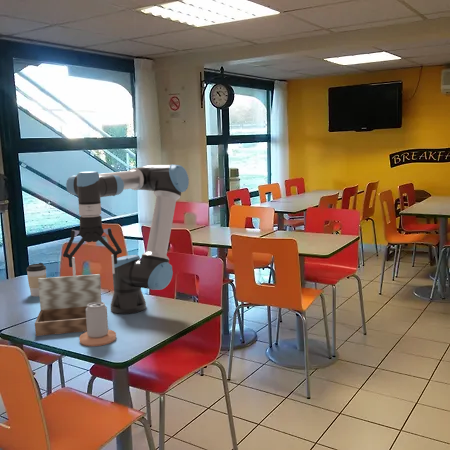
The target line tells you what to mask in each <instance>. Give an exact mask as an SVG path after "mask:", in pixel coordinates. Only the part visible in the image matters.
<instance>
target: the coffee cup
mask: <svg viewBox="0 0 450 450" xmlns="http://www.w3.org/2000/svg"><path fill="white" fill-rule="evenodd" d="M25 271H26V272H27V281H28V288H29V290H30V291H29V292H30V297H40V296H39V283H38V278H47V266H45V264H44V263H43V262H40V263H31V264H29V265H28V267H26V270H25Z"/></svg>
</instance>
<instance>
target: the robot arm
mask: <svg viewBox="0 0 450 450" xmlns="http://www.w3.org/2000/svg"><path fill="white" fill-rule="evenodd" d="M189 180H190V179H189V175H188V172H187V170H186V168H185V167H183V165H180V164H174V163H173V164H150V165H144V166H139V167H133V168H130V169H129V170H126V171H125V170H124V171H115V172H114V171H113V172H104V173H103V172H102V173H99V172H98V171H80V172H78V173H77V174H76V175H71V176H69V177H68V178H67V180H66V183H65V185H66V186H65V187H66V191H67V192H68V193H69V194H70V195H72V196H76V197H77V199H78V201H77V202H78V215H79V230H75V229H71V230H70V231H71V232H70V238H69V240H68V242H67V244H66V245H67V246H66V247H65V249H64V251H63V254H62V257H64V258H67V259H68V267H69V268H72V276H73V277H75V276H77V274H76V273H77V271H76V269H77V268H76V259H75V257H74V255H75V254H76V253H77V252H78V251H79V249H81V246H82V245H83V244H84V243H85V242H86V243H92V242H93V243H96V242H100V243H101V244H102V245H103V246H104V247H105V248H106V249H107V250H108V251H109V252H110V253H111V267H112V268H111V270H112V271H111V272H112V273H111V274H112V286H113V295H112V298H111V301H110V311H111V312H112V313H115V314H123V315H125V314H127V315H128V314H133V313H138V312H142V311H144V310H145V309H147V302H146V300H145V297H144V294H143V292H142V289H148V290H153V291H155V290H157V291H158V290H159V291H161V290H164V289H165V288H166V287H168V285H169V284H170V283H171V281H172V279H173V275H174V274H173V273H174V272H173V271H174V270H173V265H172V264H170V258H169V256H167V254H168V248H169V244H170V243H169V242H170V238H171V233H172V232H171V231H172V226H173V221H174V216H175V209H176V203H177V201H178V200H179V199H181V196H182V193H184V192H186V191H187V190H188V188H189V184H190V183H189V182H190V181H189ZM130 189H131V190H132V191H149V192H150V191H151V192H153V194H154V195H155V197H156V198H155V203H154V209H153V214H152V219H151V226H150V229H149V230H150V231H149V236H148V241H147V247H146V251H145V252H144V253H142V254H141V257H140V255H138V254H131V255H123V256H120V257H118V255H120V254H122V252H123V251H122V248H121V247H120V245H119V243H118V242H117V239H116V238H115V237H114V235H113V233H112V228H111V227H108V228H103V222H102V219H103V218H102V216H101V215H102V206H101V205H102V204H101V198H105V197H112V196H113V197H115V196H118V195H119V196H120V195H121V194H122V193H123V192H124V190H130ZM104 233H105V235H107V236H108V237H109V239H110V240H111V242H112V244H113V246H114V247H112V246H111V245H110V243H109V242H108V241H107V240H106V239H105V238H104V237H103V234H104ZM78 235H79V236H80V237H81V239H80V240H79V242H78V243H77V244H76V245H75V246H74V248H73V249H72V251H70V249H71V247H72V244H73V242H74V239H75V237H77V236H78ZM69 251H70V252H69Z"/></svg>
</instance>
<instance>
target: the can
mask: <svg viewBox="0 0 450 450" xmlns="http://www.w3.org/2000/svg"><path fill="white" fill-rule="evenodd" d="M105 304H106V303H105V302H103V301H101V302H92V303H89V304H88V305H87V306H88V307H87V308H86V324H87V331H86V332H87V335H88V336H89V337H90V338H102V337H104V336H106V334H107V333H108V330H109V326H108V324H109V323H108V307H107V306H106V305H105Z"/></svg>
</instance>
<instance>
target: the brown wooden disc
mask: <svg viewBox="0 0 450 450" xmlns="http://www.w3.org/2000/svg"><path fill="white" fill-rule="evenodd" d="M78 340H79V344H80V345H82V346H86V347H101V346H105V345H108V344H111V343H113V342H115V341H116V340H117V332H115V330H112V329H108V333H107V334H106V336H104V337H102V338H90V337H89V336H88V335H87V331H84V333H83V332H82V333H81V334H80V336H79V339H78Z"/></svg>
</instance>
